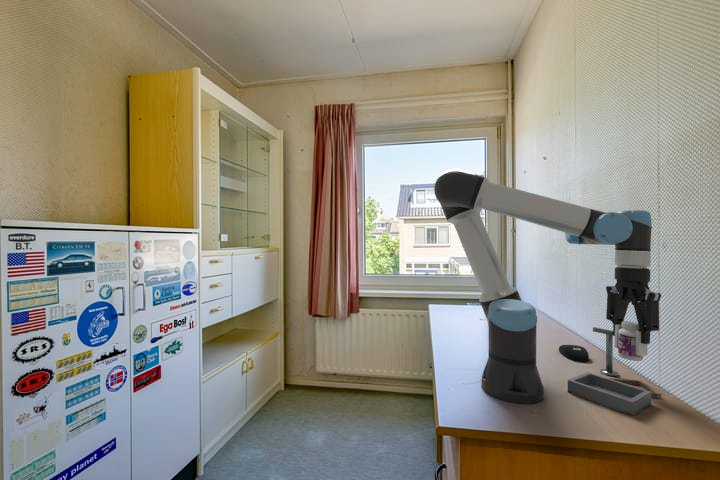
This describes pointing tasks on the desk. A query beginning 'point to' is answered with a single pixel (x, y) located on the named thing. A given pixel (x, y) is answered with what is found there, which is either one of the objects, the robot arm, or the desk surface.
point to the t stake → (608, 352)
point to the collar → (637, 382)
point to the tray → (610, 393)
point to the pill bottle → (628, 341)
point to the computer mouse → (574, 353)
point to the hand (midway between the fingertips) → (630, 351)
